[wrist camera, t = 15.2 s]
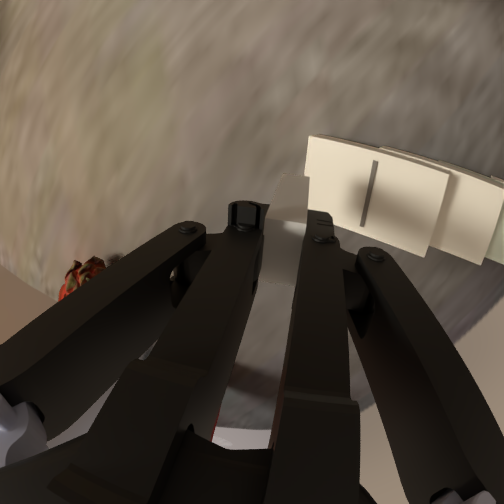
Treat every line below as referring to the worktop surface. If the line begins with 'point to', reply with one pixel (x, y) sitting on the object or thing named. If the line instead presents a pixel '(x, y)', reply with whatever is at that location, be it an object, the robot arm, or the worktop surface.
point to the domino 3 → (500, 246)
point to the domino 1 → (375, 191)
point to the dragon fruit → (80, 275)
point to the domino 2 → (464, 212)
